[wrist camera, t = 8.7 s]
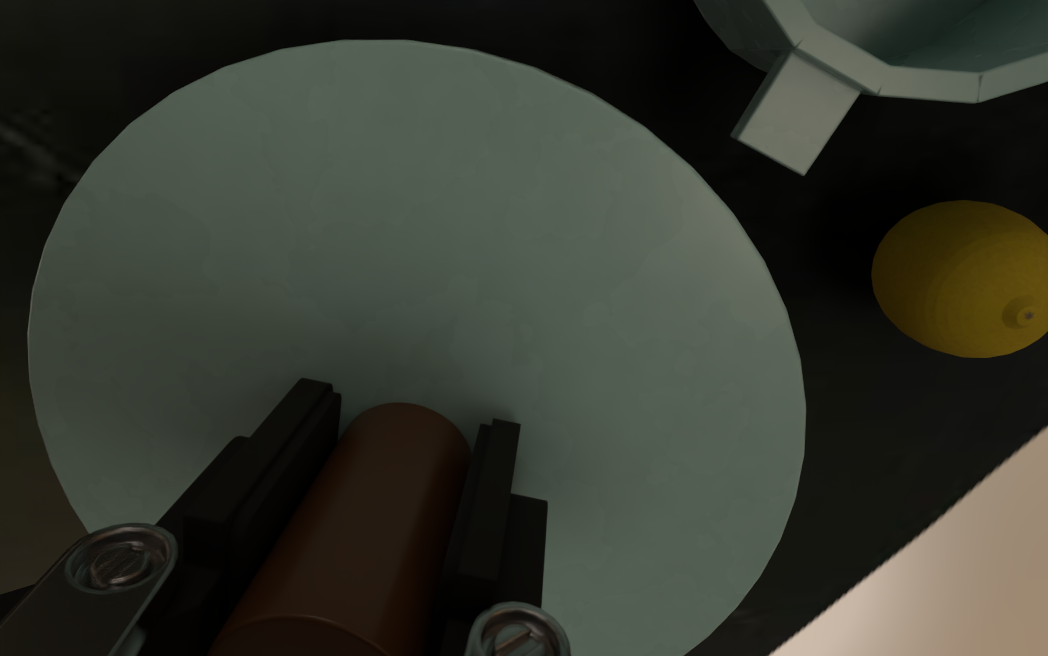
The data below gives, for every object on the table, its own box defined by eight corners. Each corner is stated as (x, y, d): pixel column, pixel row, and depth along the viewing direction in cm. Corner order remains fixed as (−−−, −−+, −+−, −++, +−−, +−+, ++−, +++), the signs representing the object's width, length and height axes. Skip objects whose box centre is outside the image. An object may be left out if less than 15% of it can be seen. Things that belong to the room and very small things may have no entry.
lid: (20, 532, 15) (-303, 808, 10) (165, -139, 10) (-387, -404, 4) (568, 756, 17) (564, 1105, 11) (956, 287, 12) (1327, 511, 6)
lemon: (1005, 207, 27) (1168, 264, 20) (932, 323, 29) (1054, 414, 22) (883, 165, 27) (1001, 207, 19) (818, 285, 29) (903, 364, 21)
